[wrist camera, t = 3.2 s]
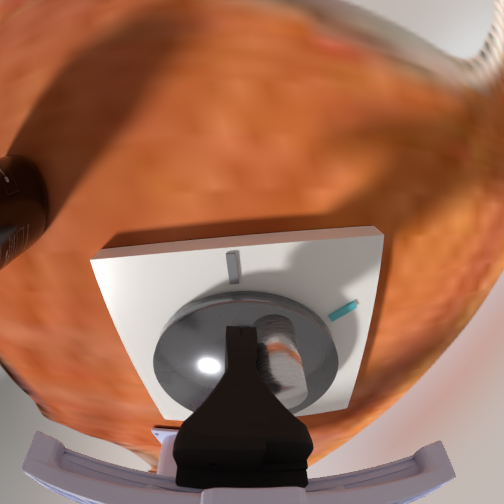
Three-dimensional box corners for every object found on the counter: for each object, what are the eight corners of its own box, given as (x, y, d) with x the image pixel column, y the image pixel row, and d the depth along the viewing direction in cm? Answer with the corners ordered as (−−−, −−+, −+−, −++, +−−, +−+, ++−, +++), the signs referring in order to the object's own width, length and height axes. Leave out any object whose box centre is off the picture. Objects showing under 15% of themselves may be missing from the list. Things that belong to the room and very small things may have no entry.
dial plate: (343, 396, 23) (347, 410, 21) (167, 407, 23) (164, 421, 22) (373, 225, 16) (385, 236, 14) (100, 249, 16) (88, 261, 14)
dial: (288, 417, 21) (295, 473, 16) (150, 389, 19) (134, 449, 14) (365, 317, 16) (400, 386, 11) (174, 264, 14) (142, 339, 9)
